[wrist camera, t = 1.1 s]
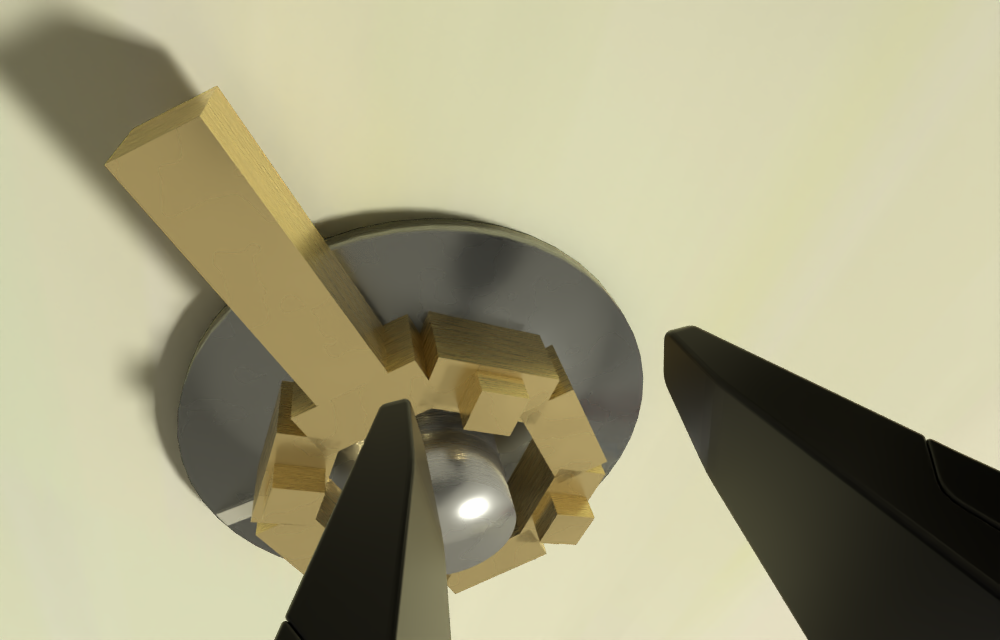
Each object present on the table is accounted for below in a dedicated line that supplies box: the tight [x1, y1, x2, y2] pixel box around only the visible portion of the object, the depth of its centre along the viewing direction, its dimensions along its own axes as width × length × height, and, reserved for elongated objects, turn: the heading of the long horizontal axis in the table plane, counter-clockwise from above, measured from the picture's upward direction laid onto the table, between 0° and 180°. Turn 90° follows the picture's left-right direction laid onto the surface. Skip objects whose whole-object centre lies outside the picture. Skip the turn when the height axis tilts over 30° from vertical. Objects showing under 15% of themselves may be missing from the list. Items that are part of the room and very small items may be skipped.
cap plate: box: [177, 219, 643, 575], centre depth 23 cm, size 18×18×6 cm
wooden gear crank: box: [104, 86, 607, 594], centre depth 20 cm, size 20×12×4 cm, turn 23°
